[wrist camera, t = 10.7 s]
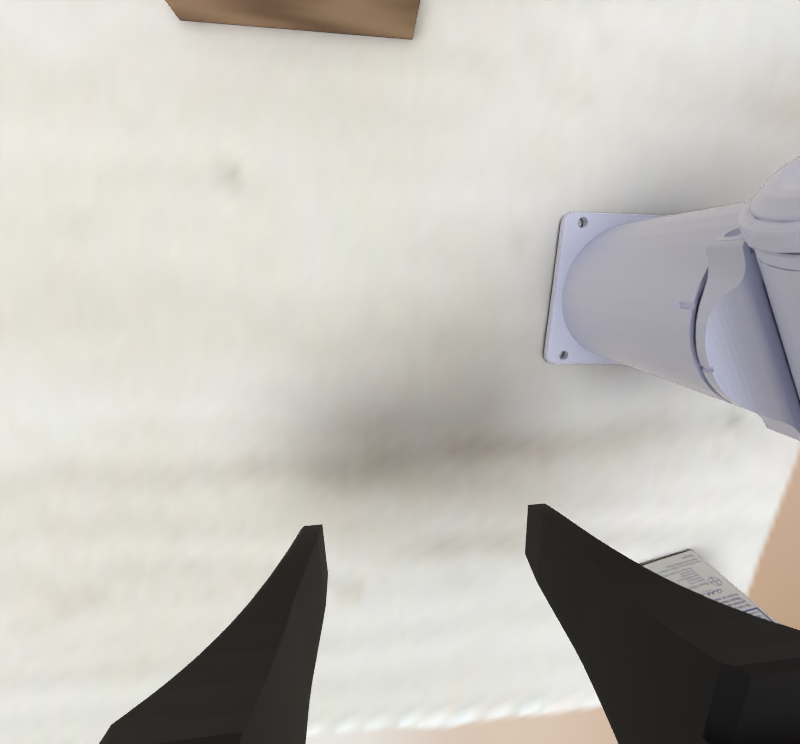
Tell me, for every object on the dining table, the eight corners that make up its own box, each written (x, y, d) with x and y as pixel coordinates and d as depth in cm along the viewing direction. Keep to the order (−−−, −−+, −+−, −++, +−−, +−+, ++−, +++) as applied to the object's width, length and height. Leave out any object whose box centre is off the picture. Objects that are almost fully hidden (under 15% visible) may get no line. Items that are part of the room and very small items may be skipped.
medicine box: (632, 564, 26) (756, 701, 18) (691, 546, 26) (842, 674, 18) (640, 643, 28) (754, 798, 20) (695, 627, 29) (832, 774, 20)
